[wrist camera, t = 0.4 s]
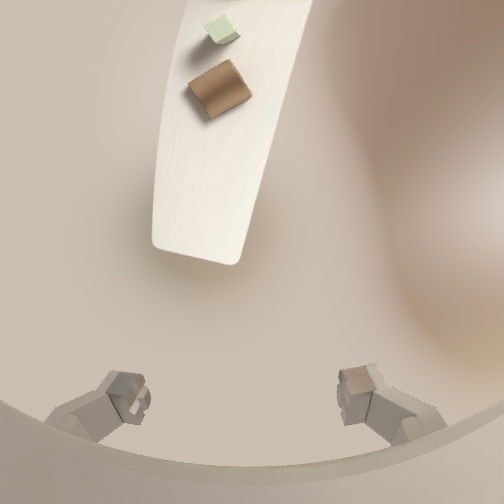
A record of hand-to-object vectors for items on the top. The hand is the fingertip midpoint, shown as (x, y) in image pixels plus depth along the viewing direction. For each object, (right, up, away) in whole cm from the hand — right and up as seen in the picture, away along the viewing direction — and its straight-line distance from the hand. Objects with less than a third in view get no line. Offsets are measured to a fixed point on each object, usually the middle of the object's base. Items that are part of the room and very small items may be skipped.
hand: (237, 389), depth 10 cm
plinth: (-5, +38, +37) cm, 53 cm away
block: (-4, +47, +29) cm, 56 cm away
